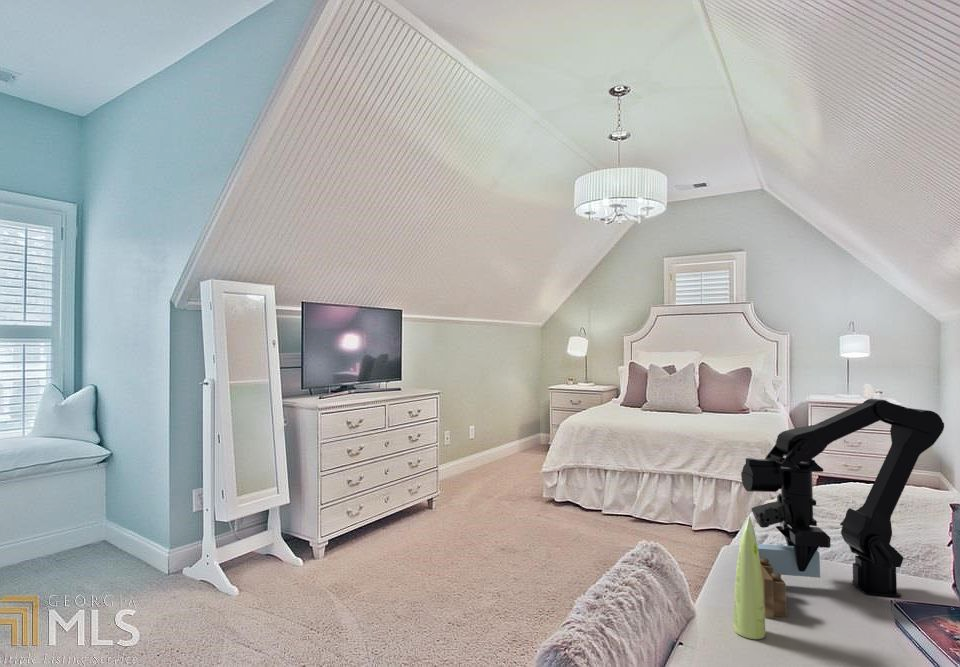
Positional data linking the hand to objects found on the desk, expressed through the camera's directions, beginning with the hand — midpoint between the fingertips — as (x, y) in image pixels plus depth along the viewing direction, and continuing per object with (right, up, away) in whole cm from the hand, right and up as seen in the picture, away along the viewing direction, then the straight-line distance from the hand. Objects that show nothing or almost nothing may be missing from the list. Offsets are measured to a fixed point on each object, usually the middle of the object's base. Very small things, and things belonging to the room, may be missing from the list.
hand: (798, 568), depth 115 cm
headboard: (-11, -4, -8) cm, 13 cm away
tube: (-20, -3, -20) cm, 28 cm away
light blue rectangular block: (-3, -1, +1) cm, 3 cm away
